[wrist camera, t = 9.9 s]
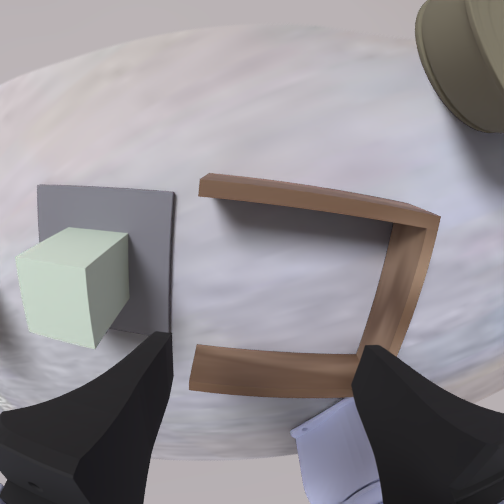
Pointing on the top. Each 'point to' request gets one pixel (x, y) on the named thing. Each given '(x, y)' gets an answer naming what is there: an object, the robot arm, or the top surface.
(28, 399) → the top surface
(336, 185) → the top surface
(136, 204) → the charcoal mat
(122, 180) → the top surface
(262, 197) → the walnut u-shaped frame
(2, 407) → the top surface
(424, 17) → the can
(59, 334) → the sage block
